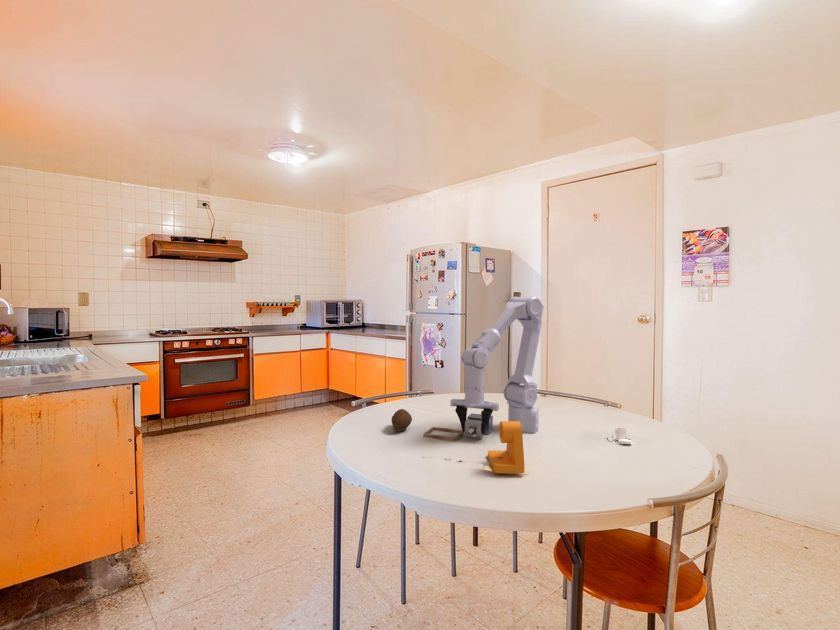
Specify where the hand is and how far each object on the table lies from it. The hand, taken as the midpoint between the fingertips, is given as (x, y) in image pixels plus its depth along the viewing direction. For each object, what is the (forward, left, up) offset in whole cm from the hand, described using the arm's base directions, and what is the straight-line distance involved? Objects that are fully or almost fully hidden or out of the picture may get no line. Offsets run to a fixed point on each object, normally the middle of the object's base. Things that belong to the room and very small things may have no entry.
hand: (473, 432), depth 132 cm
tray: (+9, +2, -3) cm, 10 cm away
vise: (0, -3, -3) cm, 4 cm away
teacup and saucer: (-39, -18, -4) cm, 43 cm away
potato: (+25, -2, -3) cm, 25 cm away
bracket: (-13, +17, -3) cm, 22 cm away
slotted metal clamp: (0, 0, -2) cm, 2 cm away
